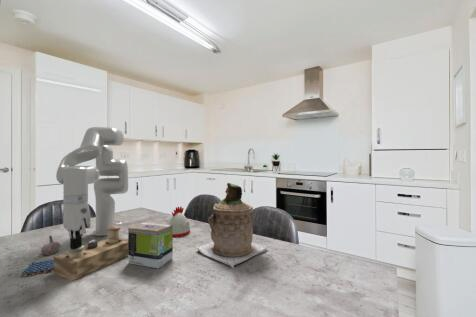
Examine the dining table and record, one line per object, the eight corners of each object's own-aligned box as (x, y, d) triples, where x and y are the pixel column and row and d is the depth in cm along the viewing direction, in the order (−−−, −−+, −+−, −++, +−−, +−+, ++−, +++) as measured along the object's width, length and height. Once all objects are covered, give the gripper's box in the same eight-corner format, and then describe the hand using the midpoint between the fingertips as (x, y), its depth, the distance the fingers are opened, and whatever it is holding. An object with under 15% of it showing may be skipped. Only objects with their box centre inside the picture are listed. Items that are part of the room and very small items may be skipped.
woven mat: (31, 266, 88) (31, 261, 88) (64, 261, 93) (64, 256, 93) (18, 279, 79) (18, 273, 79) (54, 273, 83) (54, 268, 83)
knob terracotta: (115, 242, 100) (115, 225, 100) (122, 244, 98) (122, 226, 98) (104, 246, 96) (104, 228, 96) (111, 248, 94) (111, 230, 94)
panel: (114, 249, 104) (114, 236, 104) (131, 254, 98) (131, 240, 98) (53, 273, 82) (53, 257, 82) (71, 280, 77) (71, 263, 77)
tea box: (173, 258, 94) (173, 224, 94) (157, 269, 84) (157, 231, 85) (145, 253, 99) (145, 220, 99) (127, 263, 89) (127, 227, 89)
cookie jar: (269, 250, 102) (268, 181, 102) (232, 270, 84) (231, 186, 84) (231, 237, 119) (231, 178, 119) (193, 251, 101) (193, 182, 101)
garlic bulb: (48, 257, 96) (48, 238, 96) (35, 255, 97) (35, 237, 97) (65, 250, 103) (65, 233, 103) (52, 248, 105) (52, 232, 105)
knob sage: (79, 264, 87) (79, 244, 87) (86, 266, 85) (86, 246, 85) (65, 269, 82) (65, 248, 82) (72, 272, 80) (72, 251, 80)
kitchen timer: (195, 231, 129) (194, 206, 129) (176, 239, 117) (176, 210, 117) (178, 227, 136) (178, 203, 136) (159, 234, 125) (159, 207, 125)
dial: (91, 245, 93) (91, 238, 93) (99, 245, 93) (99, 239, 93) (85, 248, 90) (85, 242, 90) (93, 249, 89) (93, 242, 89)
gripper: (98, 199, 84) (98, 247, 83) (75, 196, 90) (75, 241, 90) (76, 202, 77) (76, 255, 77) (53, 199, 83) (53, 247, 83)
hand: (75, 247), depth 83 cm, fingers closed
